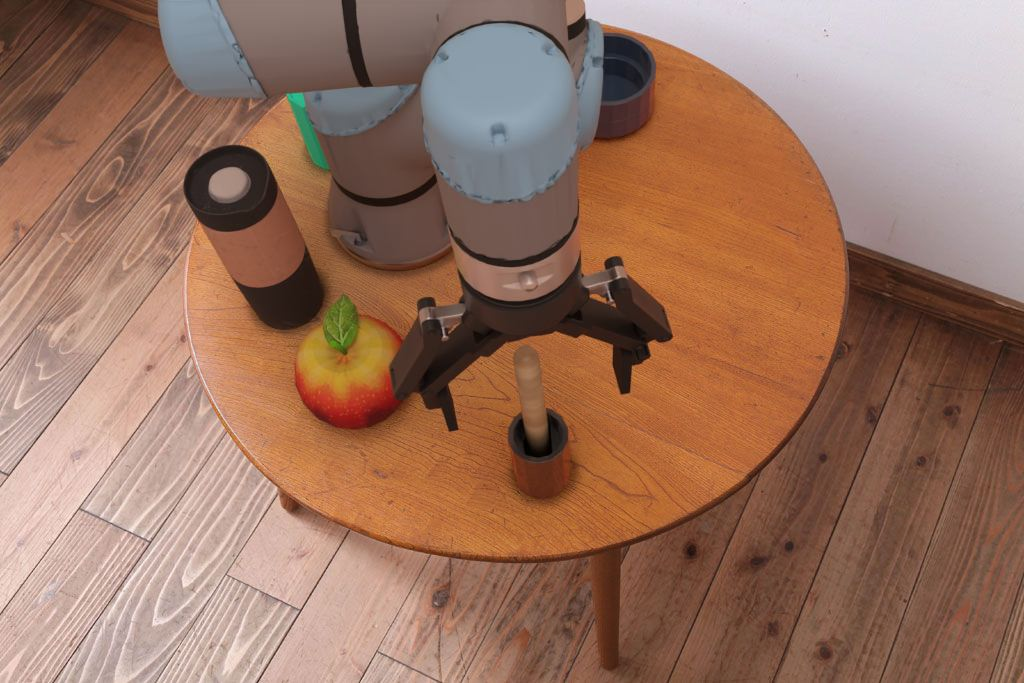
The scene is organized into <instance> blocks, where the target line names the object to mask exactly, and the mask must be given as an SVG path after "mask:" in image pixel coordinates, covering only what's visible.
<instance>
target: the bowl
mask: <svg viewBox="0 0 1024 683" xmlns="http://www.w3.org/2000/svg"><path fill="white" fill-rule="evenodd" d="M603 38H604V54H603V65H602V68H603V84H602V96H601V106H600V114H599V120H598V126H597V131H596V134H595V137H594V138H604V139H605V138H606V139H607V138H608V139H613V138H617V137H622V136H627V135H629V134H631V133H633V132H634V131H637V130H639V129H640V128H641V127H642V126H643V125H644V124H645V123H646V122H647V121H648V120H649V118H650V116H651V115H652V113H653V110H654V105H655V104H654V103H655V92H656V91H655V89H656V77H657V62H656V60H655V56H654V54H653V52H652V51H651V50H650V49H649V47H648V46H647V45H646V44H645V43H644V42H642V41H640V40H639V39H637V38H635V37H634V36H632V35H627V34H624V33H620V32H603Z"/></svg>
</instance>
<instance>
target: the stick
mask: <svg viewBox="0 0 1024 683" xmlns="http://www.w3.org/2000/svg"><path fill="white" fill-rule="evenodd" d="M512 363H513V367H514V369H513V370H514V373H515V375H514V376H515V381H516V386H517V392H518V399H519V404H520V410H521V412H522V417H523V423H524V429H525V435H526V441H527V447H528V453H529V456H531V457H536V458H539V457H544V456H549V455H550V454H551V453H552V451H551V444H550V436H549V428H548V421H547V413H546V408H547V406H546V398H545V391H544V382H543V376H542V367H541V361H540V355H539V351H538V350H537V349H536V348H535V347H533V346H531V345H528V344H524V345H521V346H519V347H517V348H516V349H515V351H514V352H513V355H512Z"/></svg>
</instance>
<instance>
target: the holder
mask: <svg viewBox="0 0 1024 683" xmlns="http://www.w3.org/2000/svg"><path fill="white" fill-rule="evenodd" d="M546 413H547V421H548V428H549V436H550V444H551V451H552V453H551V454H550V455H549V456H544V457H539V458H536V457H531V456H529V453H528V447H527V441H526V435H525V429H524V423H523V417H522V411H521V412H520V413H518V414H516V415H515V416H514V417H513V419H512V421H511V422H510V425H509V426H508V429H507V444H508V449H509V453H510V459H511V463H512V464H511V465H512V468H513V473H514V478H515V480H516V483H517V486H518V487H519V488H520V490H521V491H522V492H523V493H524V494H525V495H527V496H528V497H531V498H533V499H538V500H547V499H551V498H552V499H553V498H554V497H557V496H558V495H560V494H561V493H562V492H564V490H566V488H567V486H568V485H569V482H570V481H571V471H572V470H571V451H570V437H569V436H570V435H569V427H568V425H567V423H566V421H565V419H564V417H563V416H562V415H560V414H559V413H558V412H557V411H556V410H554V409H552V408H549V407H546Z"/></svg>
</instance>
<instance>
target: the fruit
mask: <svg viewBox="0 0 1024 683" xmlns="http://www.w3.org/2000/svg"><path fill="white" fill-rule="evenodd" d="M403 341H404V339H403V338H402V337H401V335H400V333H399V334H398V333H397V331H396V330H394V329H393V327H391V326H390V325H389V324H388V323H387V322H385V321H383V320H380V319H378V318H376V317H374V316H371V315H368V314H361V313H359V311H358V309H357V307H356V305H355V303H354V302H353V301H352V300H351V298H349V296H347V295H346V293H345V292H344V293H342V295H341V296H340V297H339V298H338V299H336V301H335V302H334V303H333V304H332V305H331V306H330V307H329V308H328V309H327V311H326V312H325V314H324V317H323V320H322V322H320V323H319V324H318V325H317V326H315V327H314V328H312V329H311V330H310V331H309V332H308V333H307V334H306V335H305V337H304V338H303V339H302V341H301V342H300V343H299V346H298V348H297V351H296V355H295V358H294V366H293V367H294V384H295V388H296V391H297V392H298V395H299V397H300V399H301V402H302V404H303V405H304V407H305V408H306V409H308V411H309V412H310V413H311V414H312V415H313V416H315V418H317V419H318V420H320V421H322V422H323V423H326V424H328V425H330V426H331V427H334V428H337V429H344V430H361V429H367V428H371V427H374V426H376V425H378V424H380V423H382V422H384V421H386V420H387V419H389V417H391V416H392V415H393V414H394V413H395V412H396V411H397V410H398V409H399V408H400V407H401V405H402V403H403V402H404V401H405V399H401V400H398V399H395V398H394V396H393V389H392V383H391V377H390V371H389V365H390V364H391V362H392V360H393V358H394V357H395V355H396V353H397V351H398V350H399V348H400V346H401V344H402V343H403Z"/></svg>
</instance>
